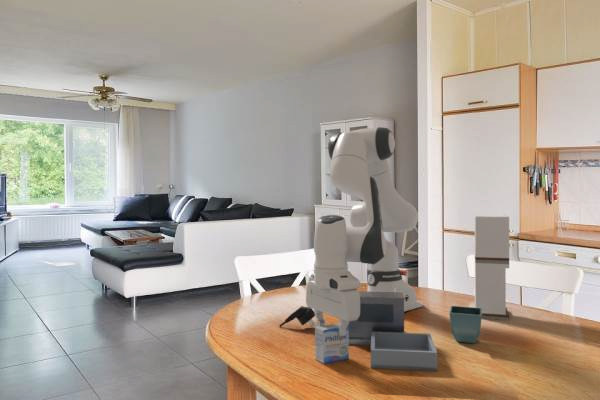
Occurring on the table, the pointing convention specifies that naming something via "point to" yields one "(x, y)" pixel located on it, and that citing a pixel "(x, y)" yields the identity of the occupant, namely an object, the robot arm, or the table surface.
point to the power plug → (302, 316)
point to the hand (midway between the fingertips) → (331, 330)
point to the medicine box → (331, 344)
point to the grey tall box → (491, 265)
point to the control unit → (377, 316)
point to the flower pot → (465, 323)
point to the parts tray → (403, 351)
